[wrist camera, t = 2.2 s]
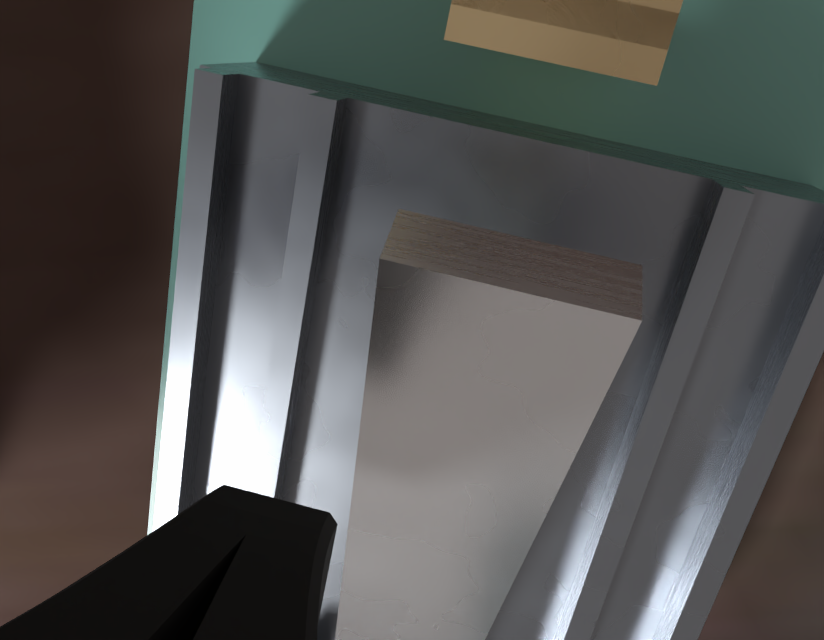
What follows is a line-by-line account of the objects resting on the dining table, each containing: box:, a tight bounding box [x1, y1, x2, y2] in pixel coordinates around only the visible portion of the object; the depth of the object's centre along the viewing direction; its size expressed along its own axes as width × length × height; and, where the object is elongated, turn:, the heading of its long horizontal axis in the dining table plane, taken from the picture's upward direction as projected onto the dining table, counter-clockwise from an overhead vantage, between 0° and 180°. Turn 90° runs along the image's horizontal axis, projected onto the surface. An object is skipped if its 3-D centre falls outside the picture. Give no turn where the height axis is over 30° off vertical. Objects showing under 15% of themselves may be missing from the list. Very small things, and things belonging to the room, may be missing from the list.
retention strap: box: [335, 209, 642, 640], centre depth 12 cm, size 14×2×1 cm, turn 168°
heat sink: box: [153, 0, 824, 640], centre depth 16 cm, size 12×17×5 cm
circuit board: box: [147, 0, 824, 535], centre depth 19 cm, size 15×24×1 cm, turn 169°
